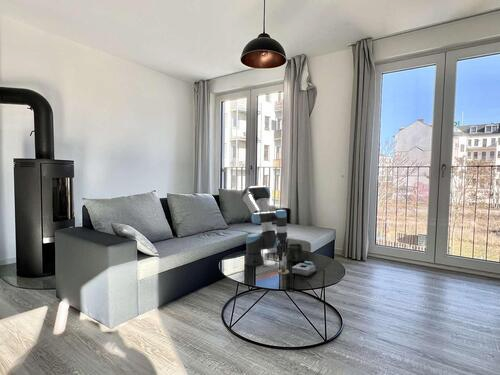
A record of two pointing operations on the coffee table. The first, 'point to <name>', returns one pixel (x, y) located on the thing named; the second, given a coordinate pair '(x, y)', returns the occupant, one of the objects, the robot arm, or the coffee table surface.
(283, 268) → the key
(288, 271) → the coaster
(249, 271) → the coffee table surface
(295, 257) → the mug
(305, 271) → the block
